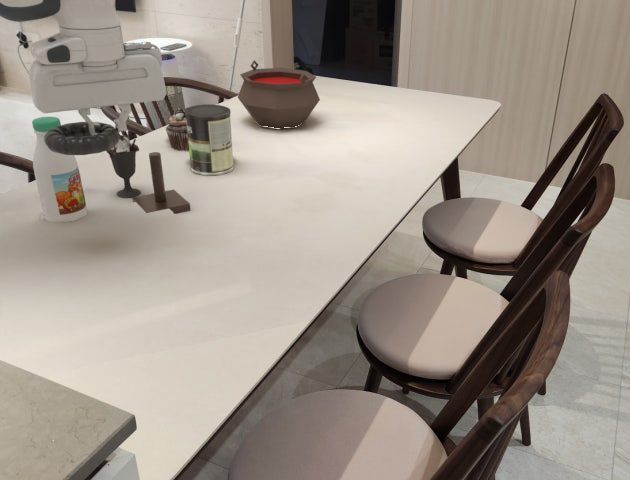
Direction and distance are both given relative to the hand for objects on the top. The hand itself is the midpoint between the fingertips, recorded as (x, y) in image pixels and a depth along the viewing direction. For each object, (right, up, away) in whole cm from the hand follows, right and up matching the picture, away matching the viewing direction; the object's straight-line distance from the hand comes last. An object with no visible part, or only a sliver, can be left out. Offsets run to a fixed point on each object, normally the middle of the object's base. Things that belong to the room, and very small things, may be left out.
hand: (108, 132), depth 106 cm
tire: (-3, -1, -2) cm, 4 cm away
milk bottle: (-16, -13, +19) cm, 28 cm away
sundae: (-9, -6, +32) cm, 34 cm away
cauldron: (+16, +23, +84) cm, 88 cm away
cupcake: (-5, +11, +61) cm, 63 cm away
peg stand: (0, -9, +27) cm, 28 cm away
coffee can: (+5, +2, +48) cm, 48 cm away
